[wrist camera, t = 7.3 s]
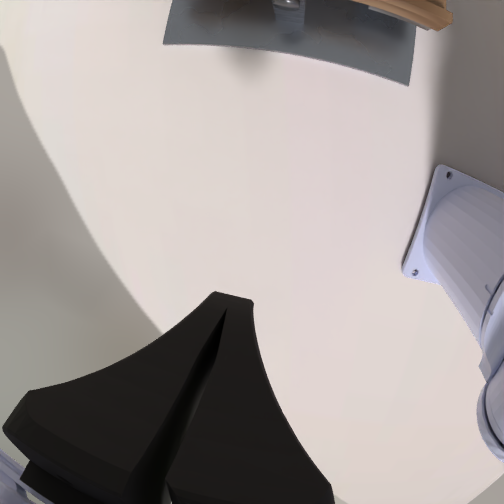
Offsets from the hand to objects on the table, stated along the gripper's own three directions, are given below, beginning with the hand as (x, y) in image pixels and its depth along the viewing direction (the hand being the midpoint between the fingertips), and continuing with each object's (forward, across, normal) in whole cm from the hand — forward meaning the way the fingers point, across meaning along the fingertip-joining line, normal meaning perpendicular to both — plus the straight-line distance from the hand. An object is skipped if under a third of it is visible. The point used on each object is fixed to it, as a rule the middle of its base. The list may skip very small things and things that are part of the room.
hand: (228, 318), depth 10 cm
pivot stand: (+10, +1, -16) cm, 19 cm away
